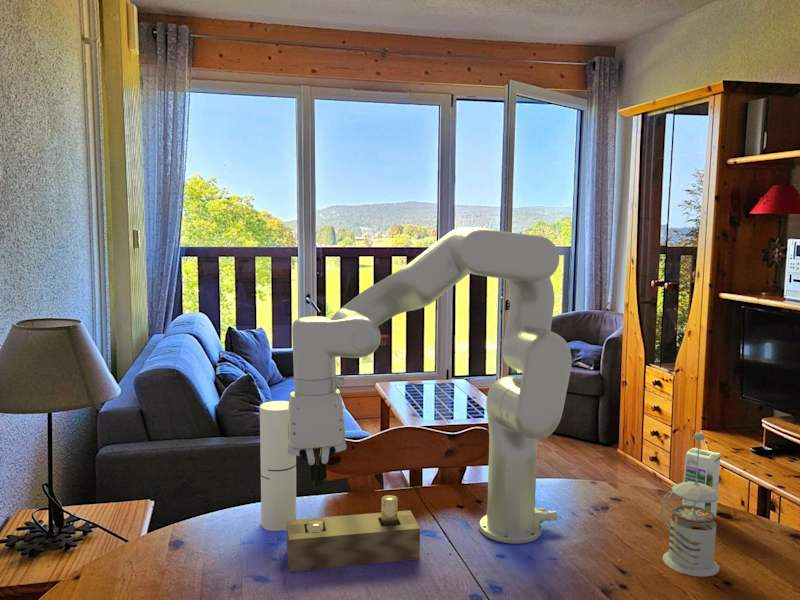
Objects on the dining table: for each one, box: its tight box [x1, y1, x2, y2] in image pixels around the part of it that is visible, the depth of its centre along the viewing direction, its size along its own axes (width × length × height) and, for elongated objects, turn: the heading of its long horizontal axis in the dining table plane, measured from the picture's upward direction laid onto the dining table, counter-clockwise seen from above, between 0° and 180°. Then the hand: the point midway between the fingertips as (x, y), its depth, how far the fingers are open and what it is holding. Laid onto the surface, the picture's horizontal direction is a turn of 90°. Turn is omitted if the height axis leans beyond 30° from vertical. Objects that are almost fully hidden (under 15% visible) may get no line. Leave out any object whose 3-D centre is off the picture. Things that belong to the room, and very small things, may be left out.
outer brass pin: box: [307, 521, 323, 533], centre depth 127 cm, size 3×3×6 cm
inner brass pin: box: [380, 494, 399, 526], centre depth 130 cm, size 3×3×6 cm
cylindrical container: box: [259, 400, 297, 532], centre depth 140 cm, size 7×7×25 cm
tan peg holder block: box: [286, 509, 421, 573], centre depth 129 cm, size 24×8×6 cm, turn 102°
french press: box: [660, 431, 720, 577], centre depth 127 cm, size 10×12×25 cm
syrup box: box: [681, 447, 722, 526], centre depth 146 cm, size 6×6×14 cm
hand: (318, 482), depth 126 cm, fingers closed
